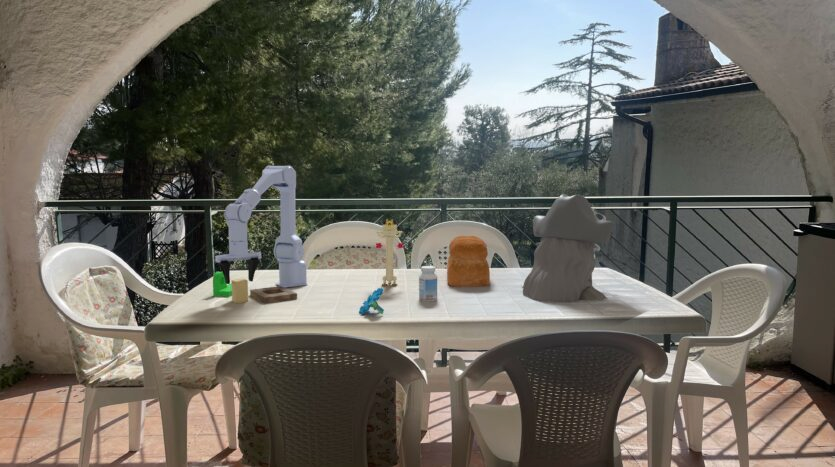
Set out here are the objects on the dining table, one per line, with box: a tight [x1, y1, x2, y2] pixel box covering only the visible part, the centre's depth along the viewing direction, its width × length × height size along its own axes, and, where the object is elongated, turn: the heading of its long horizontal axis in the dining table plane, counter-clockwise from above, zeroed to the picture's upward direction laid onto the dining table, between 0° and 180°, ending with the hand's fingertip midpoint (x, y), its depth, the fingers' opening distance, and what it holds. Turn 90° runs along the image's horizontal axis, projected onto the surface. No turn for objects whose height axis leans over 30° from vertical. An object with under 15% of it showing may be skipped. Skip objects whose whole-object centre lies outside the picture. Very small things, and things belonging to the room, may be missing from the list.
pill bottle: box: [418, 265, 438, 302], centre depth 197 cm, size 6×6×11 cm
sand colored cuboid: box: [230, 278, 249, 304], centre depth 195 cm, size 4×4×7 cm
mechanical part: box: [212, 271, 232, 298], centre depth 207 cm, size 12×6×8 cm, turn 169°
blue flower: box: [358, 286, 385, 315], centre depth 180 cm, size 11×6×10 cm
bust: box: [521, 193, 615, 303], centre depth 204 cm, size 34×34×35 cm
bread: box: [446, 235, 491, 288], centre depth 228 cm, size 16×26×17 cm, turn 178°
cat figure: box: [375, 219, 404, 287], centre depth 220 cm, size 10×9×25 cm
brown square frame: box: [249, 285, 298, 304], centre depth 200 cm, size 11×14×2 cm
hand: (239, 282), depth 194 cm, fingers open, 7 cm apart
